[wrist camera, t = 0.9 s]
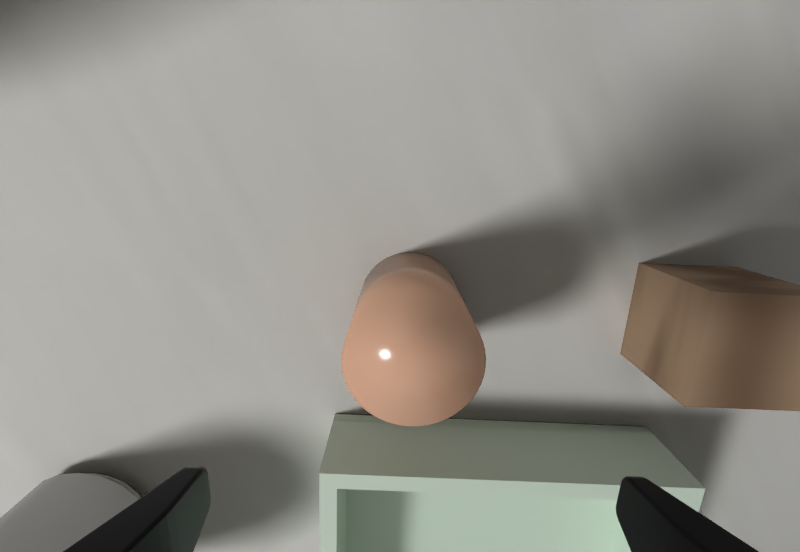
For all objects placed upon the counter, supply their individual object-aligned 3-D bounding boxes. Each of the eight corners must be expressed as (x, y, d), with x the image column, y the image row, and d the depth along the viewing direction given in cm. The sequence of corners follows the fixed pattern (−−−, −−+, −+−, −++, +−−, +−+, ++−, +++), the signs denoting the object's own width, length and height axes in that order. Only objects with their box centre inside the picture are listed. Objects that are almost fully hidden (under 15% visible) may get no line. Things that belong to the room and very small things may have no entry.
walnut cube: (735, 267, 20) (841, 297, 15) (711, 356, 21) (801, 411, 17) (638, 262, 20) (714, 291, 15) (619, 352, 21) (683, 406, 16)
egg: (461, 254, 20) (493, 298, 13) (453, 346, 21) (478, 429, 14) (362, 250, 20) (342, 291, 13) (360, 342, 21) (340, 423, 14)
